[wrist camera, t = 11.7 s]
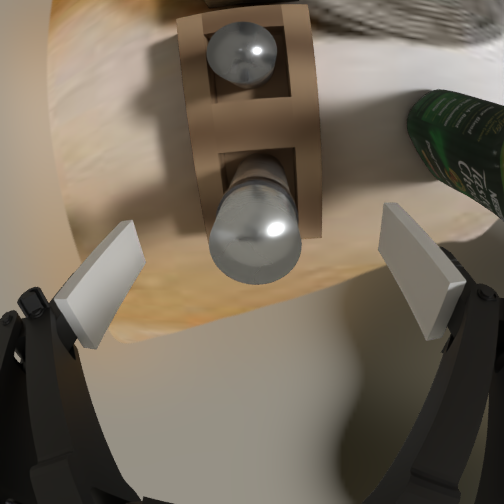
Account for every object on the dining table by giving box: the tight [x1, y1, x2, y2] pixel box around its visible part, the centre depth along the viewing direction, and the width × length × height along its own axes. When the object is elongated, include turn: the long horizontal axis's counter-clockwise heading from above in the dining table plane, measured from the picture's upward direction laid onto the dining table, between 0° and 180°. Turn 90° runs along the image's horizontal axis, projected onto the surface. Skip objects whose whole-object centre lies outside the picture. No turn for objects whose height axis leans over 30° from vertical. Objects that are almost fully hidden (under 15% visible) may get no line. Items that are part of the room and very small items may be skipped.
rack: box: [176, 4, 322, 244], centre depth 21 cm, size 20×10×4 cm, turn 6°
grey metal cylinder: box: [209, 153, 302, 285], centre depth 19 cm, size 5×5×13 cm
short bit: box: [207, 22, 277, 89], centre depth 16 cm, size 4×4×8 cm
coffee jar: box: [407, 89, 504, 221], centre depth 14 cm, size 10×8×19 cm
